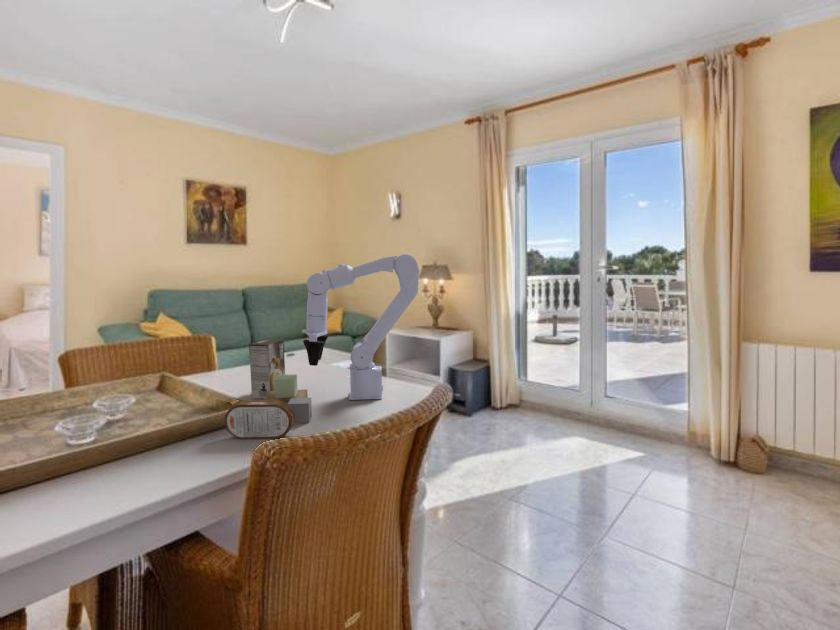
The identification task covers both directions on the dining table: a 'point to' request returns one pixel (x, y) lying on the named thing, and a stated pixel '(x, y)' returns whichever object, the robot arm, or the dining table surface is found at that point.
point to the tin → (259, 419)
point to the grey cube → (301, 409)
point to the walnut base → (299, 395)
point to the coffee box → (265, 365)
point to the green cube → (285, 386)
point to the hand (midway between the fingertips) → (315, 362)
